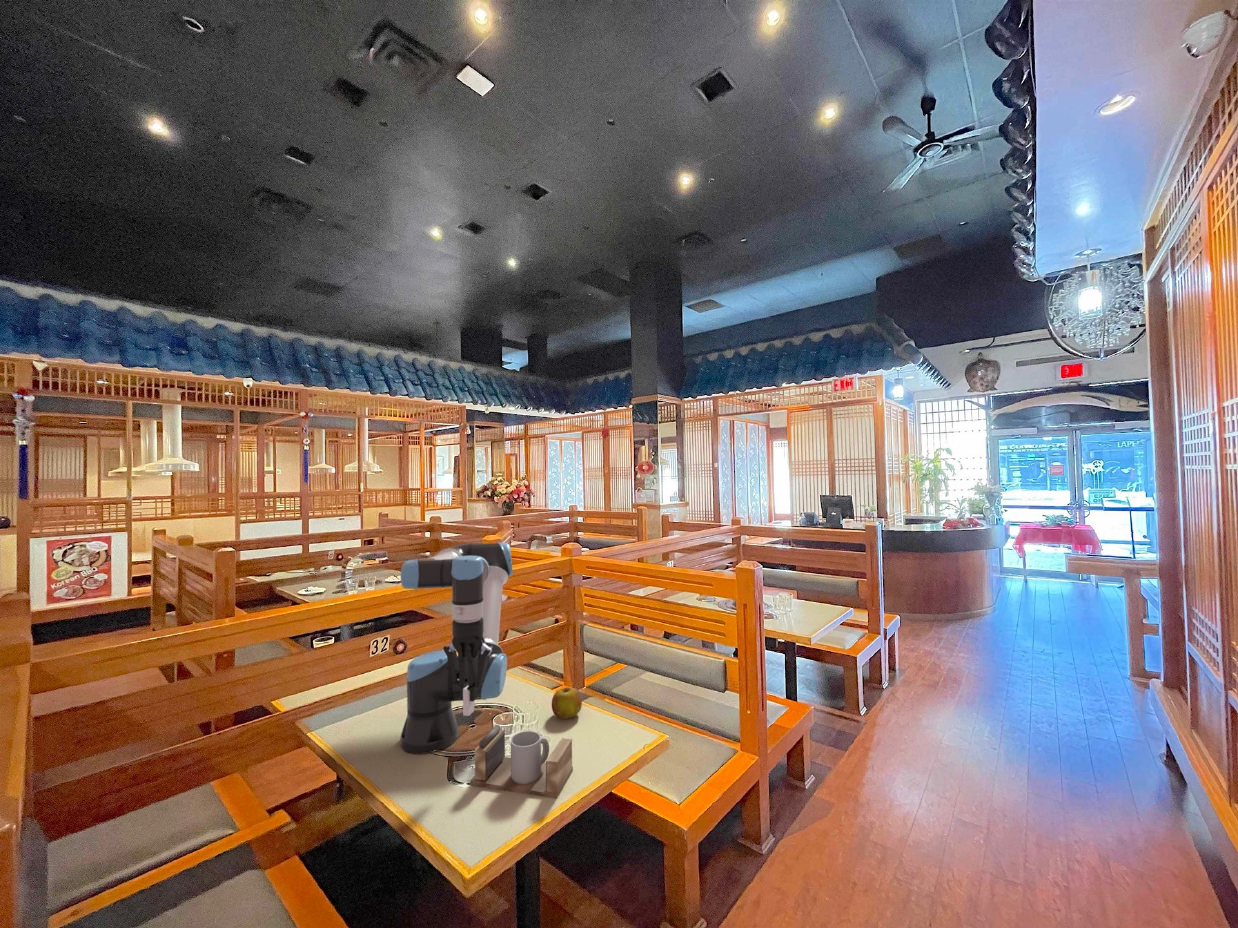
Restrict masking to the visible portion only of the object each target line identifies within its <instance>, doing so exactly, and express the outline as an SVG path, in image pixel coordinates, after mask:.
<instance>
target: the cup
mask: <svg viewBox="0 0 1238 928" xmlns="http://www.w3.org/2000/svg"><path fill="white" fill-rule="evenodd" d="M549 754H550V745H549V741H548V738H547V737H545V736H541V734H540V733H538V732H536V731H533V730H525V731H520V732H517V733H515V734H514V735H513V736H511V738H510V758H511V778H512V779H513V781H514V782H516V783H518V784H529V783H532V782H534V781H536V780H537V779H538V778H539V777H540V775H541V765H542V764H543V763H546V761H547V759H548V758H549V756H550V755H549Z"/></svg>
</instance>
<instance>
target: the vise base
mask: <svg viewBox="0 0 1238 928" xmlns="http://www.w3.org/2000/svg"><path fill="white" fill-rule="evenodd" d="M573 771H574V766H573V739H572V738H571V739H570V738H564V737H561V739H560V740H559V742H558V743H557V744H556V745H555V747H554V749H553V750H552V752H551V753H550V755H548V758H547V760H546V761H545V762H544V763H543V764H542V765H541V775H540V777H539V778H538V779H537V780H536V781H534V782H532V783H529V784H518V783H516V782H514V781H513V779H512V778H511V757H506V756H505V757H504V758H503V759H502V761H501V762H500V763H499V764H498V765H497V767H496V768H495V769H494V770H493V771H492V773H491V774H490V775H489V776H488V777H487V779H486V780H478V779H475V775H474V776H473V777H472V778H471V779H470V781H469V783H470V784H469V785H470V786H474V787H479V788H480V787H481V788H486V789H491V790H498V791H506V792H512V793H518V794H519V793H520V794H525V795H530V796H538V797H544V798H549V799H558V798H559V796H560V794H561V792H562V791H563V789H564V788H565V785H566V784H567V782H568V780H569V778H570V776H571V775H572V773H573Z"/></svg>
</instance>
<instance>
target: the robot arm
mask: <svg viewBox="0 0 1238 928" xmlns="http://www.w3.org/2000/svg"><path fill="white" fill-rule="evenodd" d="M511 551H512V549H511V545H510V544H509V543H508V542H499V541H497V542H491V543H490V542H488V543H486V542H485V543H483V542H482V543H463V544H458V545H454V546H450V547H447V548H445V549H442V550H440V551H439V552H438V553H437V554H436V555H435V556H431V557H428V558H426V559H413V560H406V561H405V562H403V564H402V566H401V569H400V583H401V586H402V588H404V589H406V590H420V589H421V590H423V589H435V588H436V589H437V588H438V589H439V588H445V589H446V588H451V593H452V596H451V597H452V598H451V599H452V601H451V602H452V603H451V608H452V609H451V611H452V612H451V615H452V616H451V618H452V619H453V621H452V622H451V623H452V625H451V626H452V627H451V628H452V630H451V631H452V636H453V637H452V638H451V639H452V640H451V642H450V643H448V644H446V645H445V646H443V648H442V649H438V650H437V649H436V650H433V651H429V652H425V653H422V654H420V655H418V656H416V657H414V658H413V659H412V660H411V661H409V664H408V665H407V670H406V671H407V673H406V674H407V675H406V697H407V698H406V702H407V706H406V707H407V711H406V712H407V714H406V718H405V721H404V725H403V727H402V731H401V735H400V747H401V749H402V750H403V751H405V752H406V753H409V754H410V753H411V754H415V755H417V754H418V755H419V754H421V755H423V754H429V753H430V754H431V753H434V752H435V751H434V750H438V751H440V750H439V749H441V750H443V749H446V748H447V747H448V746H451V745H452V744H453V743H454V742H455V741H456V740H457V739H458V738H459V724H458V722H457V720H456V716H455V714H454V710H453V707H452V706H453V705H452V703H453V702H462V707H463V708H462V712H463V713H462V715H463V716H465V717H469V716H471V714H472V713H474V712H475V701H481V700H482V701H486V700H489V699H496V698H498V697H499V696H501V695H502V692H503V690H504V687H505V682H506V677H507V667H508V656H507V654H505V653H504V651H503V649H502V647H501V646H500V645H499V639H500V627H501V626H500V625H501V624H500V623H501V615H502V614H501V612H502V601H503V599H502V598H503V591H504V590H503V588H504V585H505V584H507V581H508V580H509V578H510V577H512V576H514V572H513V571H514V570H513V562H512V561H513V559H512V552H511ZM442 748H443V749H442ZM433 751H434V752H433Z"/></svg>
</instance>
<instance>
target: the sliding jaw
mask: <svg viewBox="0 0 1238 928" xmlns="http://www.w3.org/2000/svg"><path fill="white" fill-rule="evenodd" d="M505 733H506V732H505V729H501V726H500V725H499V724H496V725H494V727H492V728H491V730H489V732H488V733H487V734H485V736H484V737H482V739H481V740H480V741H479V742H478V746H477V747H476V748H475V749H474V776H475V779H478V780H486V779H487V777H488V776H489V775H490V774H491V773H492V771H493V770H494V769H495V768H496V767H497V765H498V764H499V763H500V762H501V761H502V759H503V758H504V757H506V746H505V745H506V741H505V740H506V739H505V738H506V737H505V736H506V734H505Z"/></svg>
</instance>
